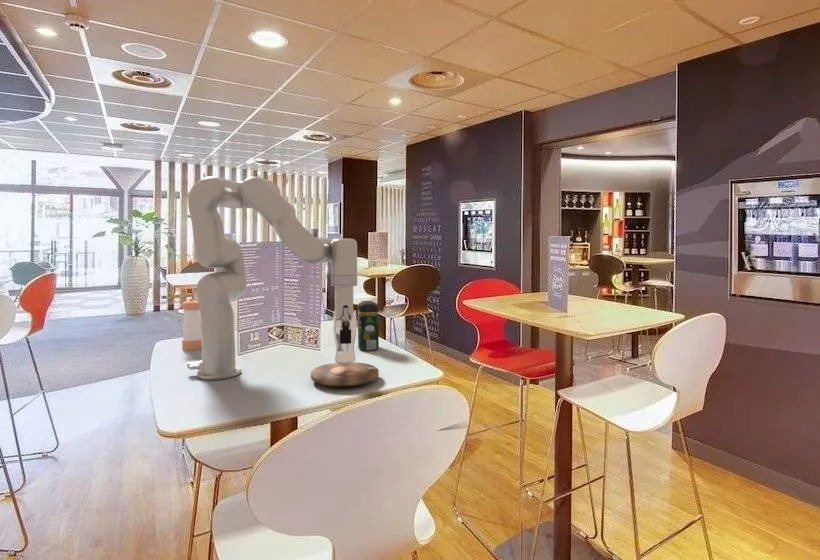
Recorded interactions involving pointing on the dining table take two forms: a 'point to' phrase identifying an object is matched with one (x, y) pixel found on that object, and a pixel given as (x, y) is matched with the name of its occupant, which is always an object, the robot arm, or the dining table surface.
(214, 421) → the dining table surface
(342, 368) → the disc
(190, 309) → the orange and white bottle
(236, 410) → the dining table surface
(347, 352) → the beer glass
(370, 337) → the coffee jar
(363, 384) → the turntable base
